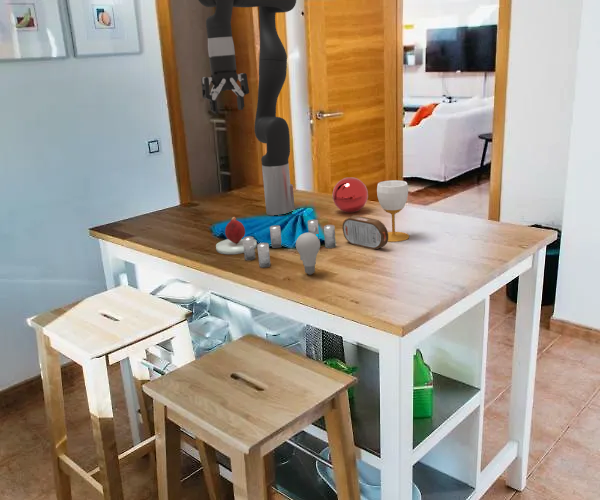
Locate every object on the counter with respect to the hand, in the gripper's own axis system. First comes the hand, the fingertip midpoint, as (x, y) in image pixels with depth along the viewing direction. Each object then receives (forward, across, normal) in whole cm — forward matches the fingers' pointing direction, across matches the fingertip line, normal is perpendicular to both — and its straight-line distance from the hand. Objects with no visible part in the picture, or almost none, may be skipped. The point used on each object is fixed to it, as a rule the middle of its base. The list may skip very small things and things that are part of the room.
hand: (228, 111), depth 179 cm
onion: (+37, +8, +11) cm, 40 cm away
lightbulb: (+38, +5, +45) cm, 59 cm away
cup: (+38, -30, +38) cm, 62 cm away
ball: (+38, -39, +7) cm, 55 cm away
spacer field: (+38, -1, +27) cm, 47 cm away
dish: (+38, +8, +12) cm, 41 cm away
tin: (+38, -19, +38) cm, 57 cm away
